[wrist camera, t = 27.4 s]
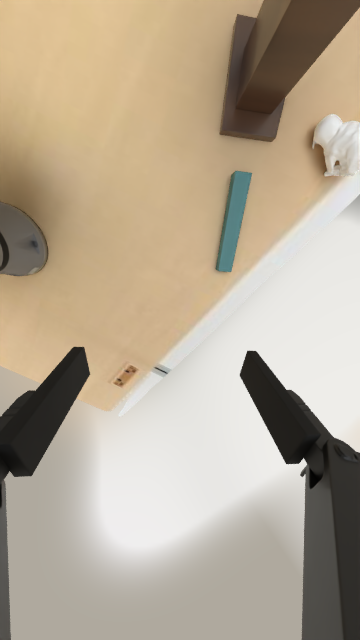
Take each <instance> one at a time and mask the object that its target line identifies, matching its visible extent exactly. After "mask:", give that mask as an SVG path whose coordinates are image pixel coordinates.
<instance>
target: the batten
mask: <svg viewBox="0 0 360 640" xmlns="http://www.w3.org/2000/svg"><path fill="white" fill-rule="evenodd" d="M251 175H252V173H248V172H241V171H235V172H234V173H233V174H232V176H231V182H230V188H229V193H228V199H227V205H226V211H225V217H224V223H223V229H222V235H221V241H220V247H219V253H218V259H217V265H216V270H217V271H224V272H231V270H232V266H233V261H234V256H235V251H236V247H237V242H238V237H239V232H240V228H241V223H242V218H243V213H244V209H245V204H246V199H247V194H248V189H249V185H250V180H251Z"/></svg>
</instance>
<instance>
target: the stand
mask: <svg viewBox="0 0 360 640" xmlns="http://www.w3.org/2000/svg"><path fill="white" fill-rule="evenodd" d="M359 7H360V0H264V1H263V4H262V6H261V8H260V11H259V13H258V16H257V18H253V17H248V16H243V15H239V14H237V17H236V20H235V23H234V28H233V36H232V44H231V51H230V59H229V67H228V74H227V82H226V90H225V97H224V105H223V113H222V120H221V128H220V134H222V135H229V136H236V137H243V138H249V139H256V140H263V141H270V142H272V141H273V140H274V139H275V138H276V134H277V130H278V126H279V122H280V117H281V113H282V109H283V105H284V101H285V97H286V96H287V94H288V93H289V92H290V91H291V90H292V88H293V87H294V86H295V85H296V84H297V82H298V81H299V80H300V79H301V77H302V76H303V75H304V74H305V73H306V71H307V70H308V69H309V68H310V67H311V65H312V64H313V63H314V62H315V61H316V59H317V58H318V57H319V56H320V55H321V53H322V52H323V51H324V50H325V49H326V47H327V46H328V45H329V44H330V42H331V41H332V40H333V39H334V38H335V36H336V35H337V34H338V33H339V32H340V30H341V29H342V28H343V27H344V26H345V24H346V23H347V22H348V21H349V20H350V18H351V17H352V16H353V15H354V14H355V12H356V11H357V10H358V9H359Z"/></svg>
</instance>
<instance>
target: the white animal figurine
mask: <svg viewBox="0 0 360 640" xmlns="http://www.w3.org/2000/svg"><path fill="white" fill-rule="evenodd" d="M314 142H315V143H318V144H320V145H321V146H322V148H324V155H325V162H326V167H327V171H325V173H324V176H332V175H334V176H353V175H354V174H355V173H356V172H358V171H359V170H360V122H358V121H349V122H345V123H342V120H341V119H340V118H339V117H338V116H337V115H335V114H330V115H327V116H326V117H324V118H323V119H322V120H321V121H320V122H319V123H318V124H317V126H316V128H315V133H314V139H313V144H312V147H313V149H314ZM336 161H339V162H340V165H336V166H334V165H335V162H336Z"/></svg>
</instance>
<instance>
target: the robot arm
mask: <svg viewBox="0 0 360 640" xmlns="http://www.w3.org/2000/svg"><path fill="white" fill-rule="evenodd" d="M47 257H48V248H47V243H46V240H45V238H44V236H43V234H42V232H41V230H40V229H39V227H38V226H37V225H36V223H35V222H34V221H33V220H32V219H31V218H30V217H29V216H28V215H26V214H25V213H24V212H22V211H21V210H19V209H18V208H16V207H14V206H11V205H9V204H6V203H1V202H0V274H7V275H13V276H24V275H30V274H33V273H36V272H38V271H40V270H41V269H42V268H43V267H44V265H45V263H46V261H47ZM89 375H90V372H89V367H88V363H87V358H86V353H85V349H84V347H73V348H72V349H71V350H70V352H69V353H68V354H67V355H66V356H65V357H64V359H63V360H62V361H61V362H60V363H59V364H58V365H57V367H56V368H55V369H54V370H53V371H52V372H51V374H50V375H49V376H48V377H47V378H46V379H45V380H44V382H43V383H42V384H41V385H40V386H39V387H38V389H37V390H36V391H27V392H26V393H24V394H23V395H22V396H20V397H19V398H18V399H16V401H15V402H14V403H13V404H12V405H11V406H10V407H9V409H7V410H6V411H5V412H4V413H3V415H2V416H1V417H0V640H11V634H10V605H9V578H8V577H9V576H8V547H7V517H6V491H5V490H6V488H5V482H4V478H5V477H6V476H7V474H8V473H9V471H10V472H11V473H12V474H13V476H14V477H19V476H32V475H33V473H34V471H35V469H36V468H37V466H38V464H39V462H40V460H41V459H42V457H43V455H44V454H45V452H46V450H47V448H48V446H49V445H50V443H51V441H52V440H53V438H54V436H55V434H56V433H57V431H58V429H59V427H60V425H61V424H62V422H63V420H64V419H65V417H66V415H67V413H68V411H69V410H70V407H71V406H72V405H73V403H74V401H75V399H76V398H77V396H78V394H79V392H80V391H81V389H82V387H83V385H84V384H85V382H86V380H87V378H88V377H89ZM240 377H241V379H242V380H243V383H244V384H245V386H246V388H247V390H248V392H249V394H250V396H251V398H252V400H253V402H254V404H255V405H256V407H257V409H258V411H259V413H260V415H261V417H262V419H263V421H264V423H265V424H266V426H267V428H268V430H269V432H270V434H271V436H272V438H273V439H274V442H275V444H276V445H277V447H278V449H279V451H280V453H281V455H282V457H283V459H284V461H285V462H286V464H299V463H300V462H301V460H302V459H303V458H304V459H305V461H306V462H307V466H306V467H305V468H304V469H303V470H302V472H301V474H300V475H301V476H302V477H303V476H304V474H306V483H305V528H304V569H303V613H302V640H360V453H358V452H356V451H355V450H353V449H352V448H351V447H350V446H349V445H348V444H346V443H345V442H343V441H341V440H339V439H336V438H334V437H333V436H332V435H331V434H330V433H329V432H328V430H327V429H326V428H325V427H324V425H323V424H322V423H321V422H320V421H319V419H318V418H317V417H316V416H315V415H314V414H313V412H311V410H310V409H309V407H308V406H307V405H305V403H304V402H303V400H302V399H301V398H300V397H299V396H298V395H297V394H296V393H294V392H293V391H292V390H286V389H285V387H284V386H283V385H282V384H281V382H280V381H279V380H278V378H276V376H275V375H274V373H273V372H272V371H271V370H270V368H269V367H268V366H267V364H266V363H265V362H264V361H263V359H262V358H261V357H260V356H259V354H258V353H257V352H256V351H247V354H246V357H245V360H244V363H243V366H242V369H241V373H240Z"/></svg>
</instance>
